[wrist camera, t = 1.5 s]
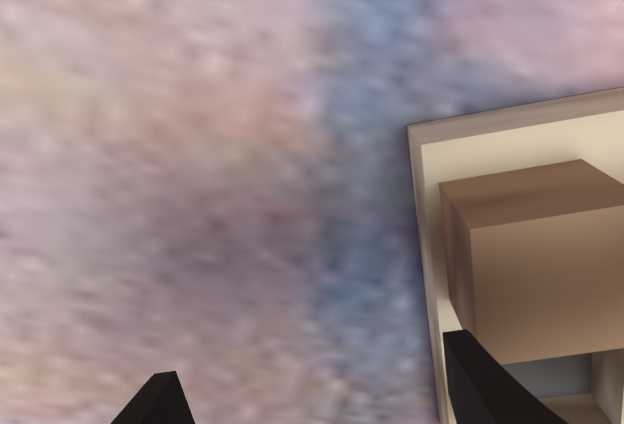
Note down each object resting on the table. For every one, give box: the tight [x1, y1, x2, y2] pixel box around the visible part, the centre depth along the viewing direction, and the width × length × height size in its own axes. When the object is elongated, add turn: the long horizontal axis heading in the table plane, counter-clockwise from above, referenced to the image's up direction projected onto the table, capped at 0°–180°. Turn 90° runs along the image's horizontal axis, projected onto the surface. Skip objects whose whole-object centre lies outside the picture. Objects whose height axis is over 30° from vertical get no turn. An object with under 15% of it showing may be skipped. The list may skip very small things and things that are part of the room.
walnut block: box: [439, 159, 624, 365], centre depth 17 cm, size 5×5×4 cm
